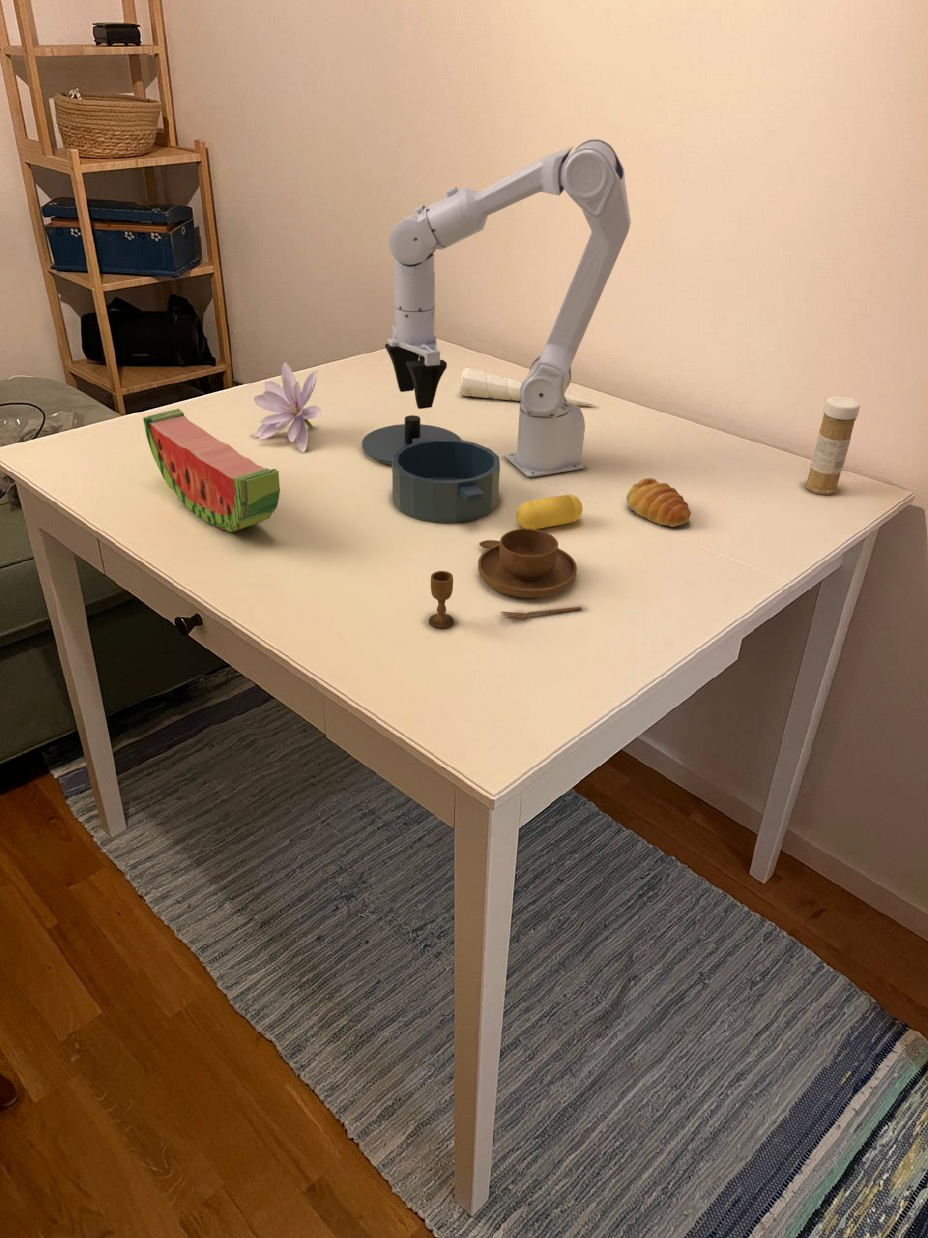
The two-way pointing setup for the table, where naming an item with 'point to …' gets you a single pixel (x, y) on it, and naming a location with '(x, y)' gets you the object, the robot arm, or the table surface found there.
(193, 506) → the fruit slice
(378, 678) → the table surface
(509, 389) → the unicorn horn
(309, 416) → the water lily
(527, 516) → the yellow rounded capsule
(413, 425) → the pot lid
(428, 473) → the pot
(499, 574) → the place setting
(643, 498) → the pastry
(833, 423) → the sprinkles bottle
